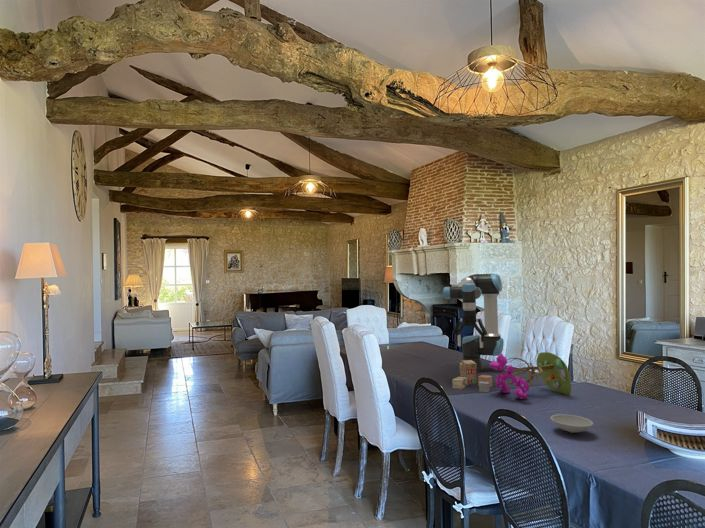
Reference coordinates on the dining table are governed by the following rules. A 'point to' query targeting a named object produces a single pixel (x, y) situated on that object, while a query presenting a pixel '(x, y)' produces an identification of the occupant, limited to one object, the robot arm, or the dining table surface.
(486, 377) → the terracotta cube
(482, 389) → the grey cube
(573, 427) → the dish
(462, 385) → the beech block
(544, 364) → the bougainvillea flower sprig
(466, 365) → the stack of blocks
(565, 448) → the dining table surface
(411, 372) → the dining table surface
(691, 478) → the dining table surface
